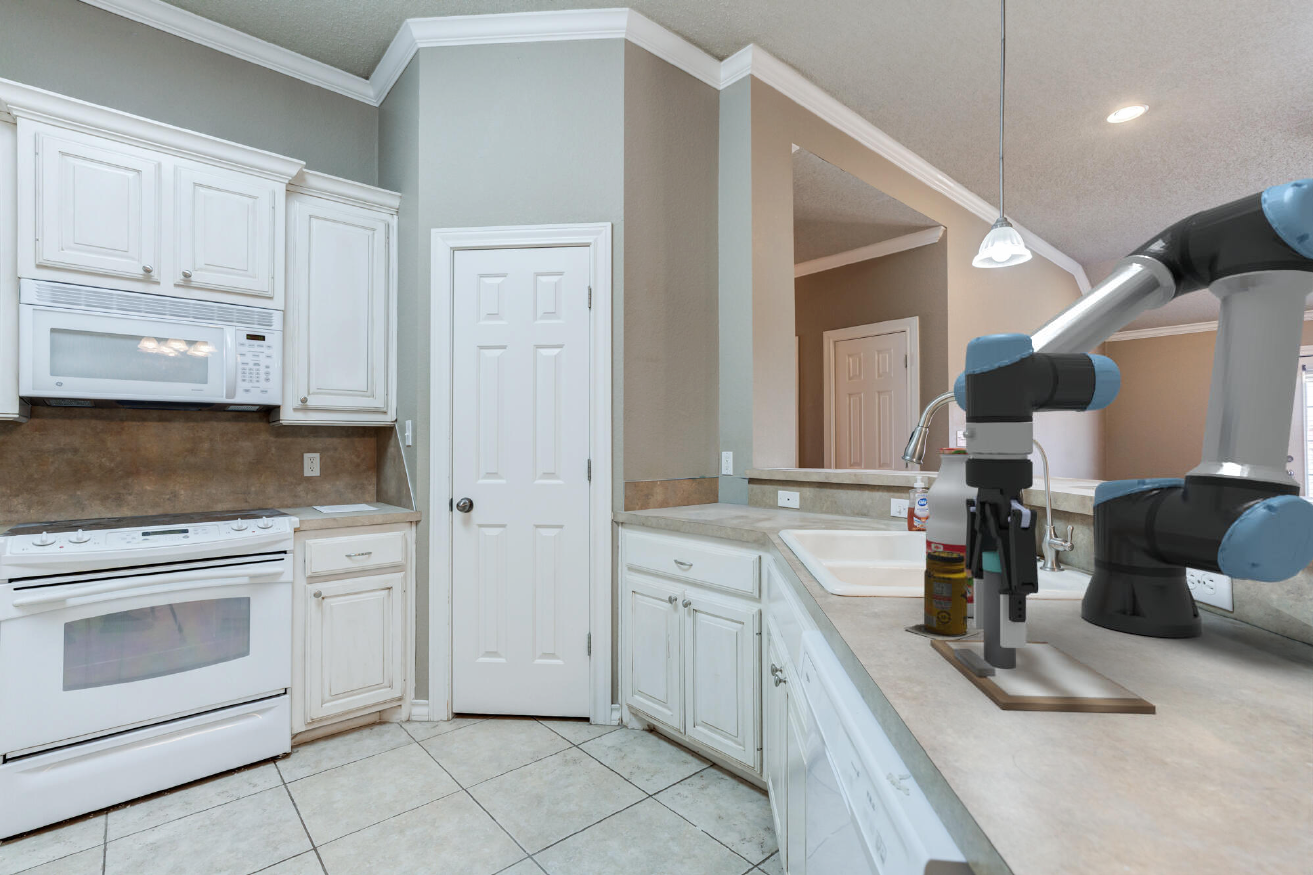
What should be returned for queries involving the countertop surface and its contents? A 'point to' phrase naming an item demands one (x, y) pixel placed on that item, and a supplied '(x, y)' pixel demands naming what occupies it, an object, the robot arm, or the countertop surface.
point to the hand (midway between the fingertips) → (998, 636)
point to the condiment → (944, 598)
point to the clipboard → (1041, 680)
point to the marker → (994, 615)
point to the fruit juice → (950, 511)
